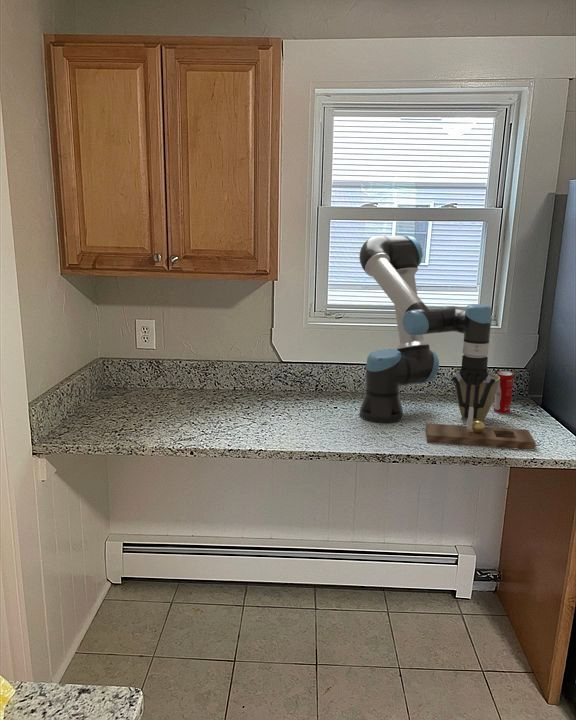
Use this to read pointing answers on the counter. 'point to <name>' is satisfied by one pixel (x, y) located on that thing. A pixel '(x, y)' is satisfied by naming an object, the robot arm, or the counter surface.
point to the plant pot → (481, 411)
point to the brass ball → (478, 426)
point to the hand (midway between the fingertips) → (469, 427)
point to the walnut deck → (479, 436)
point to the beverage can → (503, 393)
